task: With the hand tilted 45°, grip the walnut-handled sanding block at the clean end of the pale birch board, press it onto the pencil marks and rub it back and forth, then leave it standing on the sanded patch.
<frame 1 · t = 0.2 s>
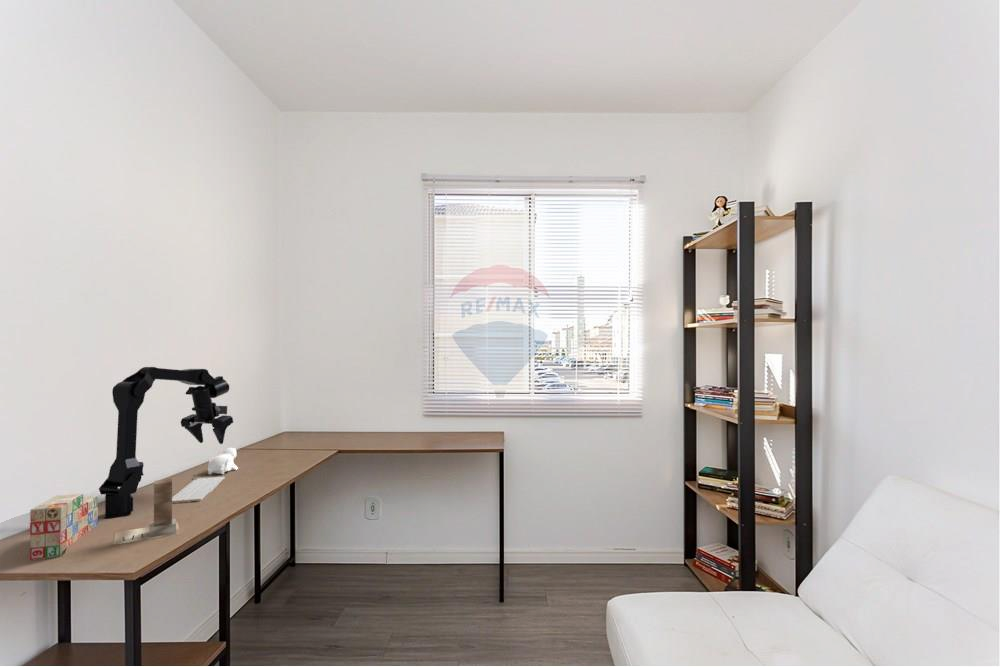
hand: (211, 443, 196), 15 cm above the table, tool pointing down, fingers open, 9 cm apart
sanding block: (162, 532, 143), point 1 cm above the table, touching board
white lumpy figurine: (224, 472, 218), on the table
baseboard molding: (195, 492, 189), on the table
stack of blocks: (66, 544, 139), on the table
board: (147, 537, 143), on the table
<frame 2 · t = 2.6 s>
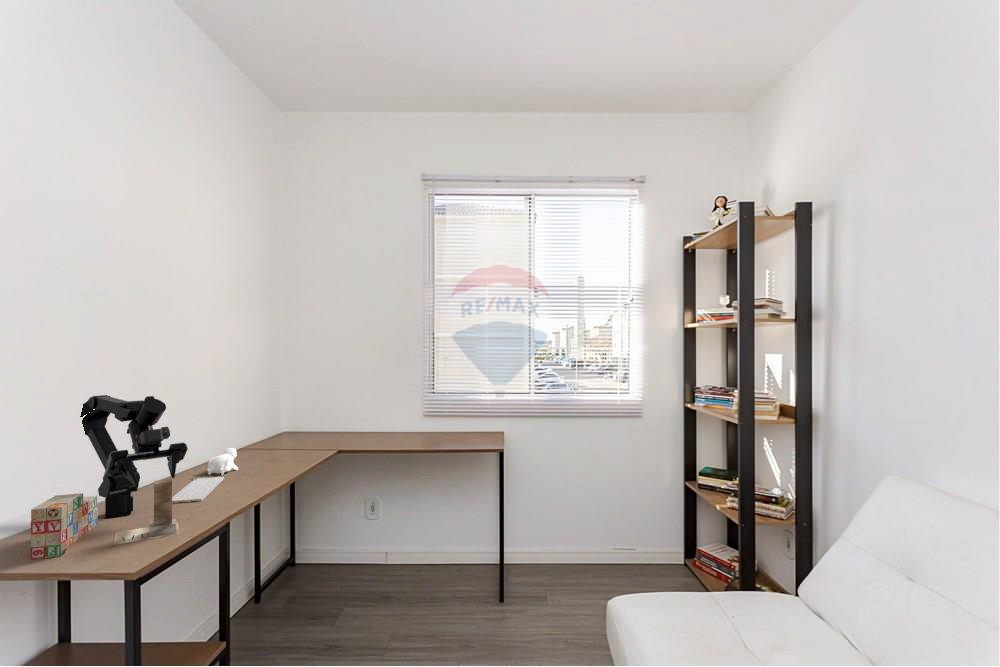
hand: (155, 480, 149), 13 cm above the table, tool tilted 45°, fingers open, 9 cm apart
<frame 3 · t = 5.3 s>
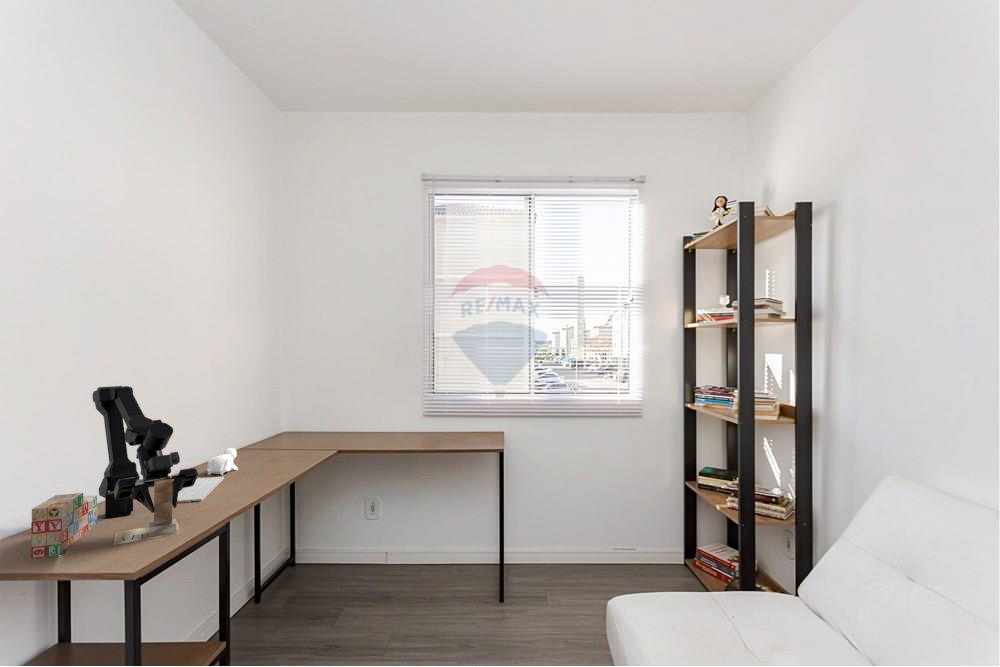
hand: (164, 509, 142), 8 cm above the table, tool tilted 45°, fingers closed on sanding block, 5 cm apart
sanding block: (162, 532, 143), point 1 cm above the table, touching board, gripper
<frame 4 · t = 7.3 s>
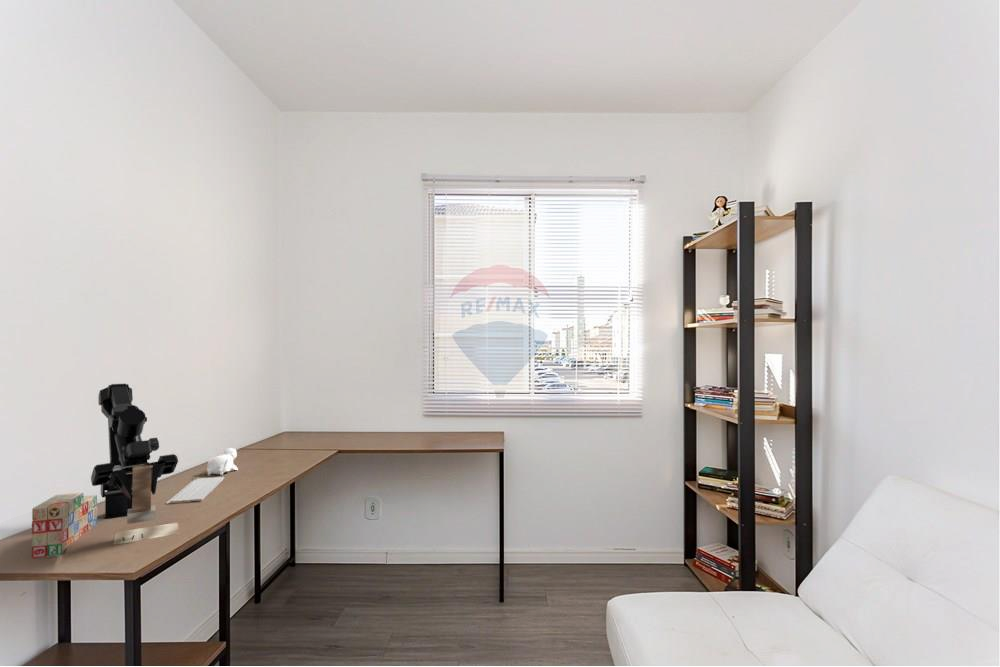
hand: (142, 495, 140), 12 cm above the table, tool tilted 45°, fingers closed on sanding block, 5 cm apart
sanding block: (141, 519, 140), point 6 cm above the table, touching gripper
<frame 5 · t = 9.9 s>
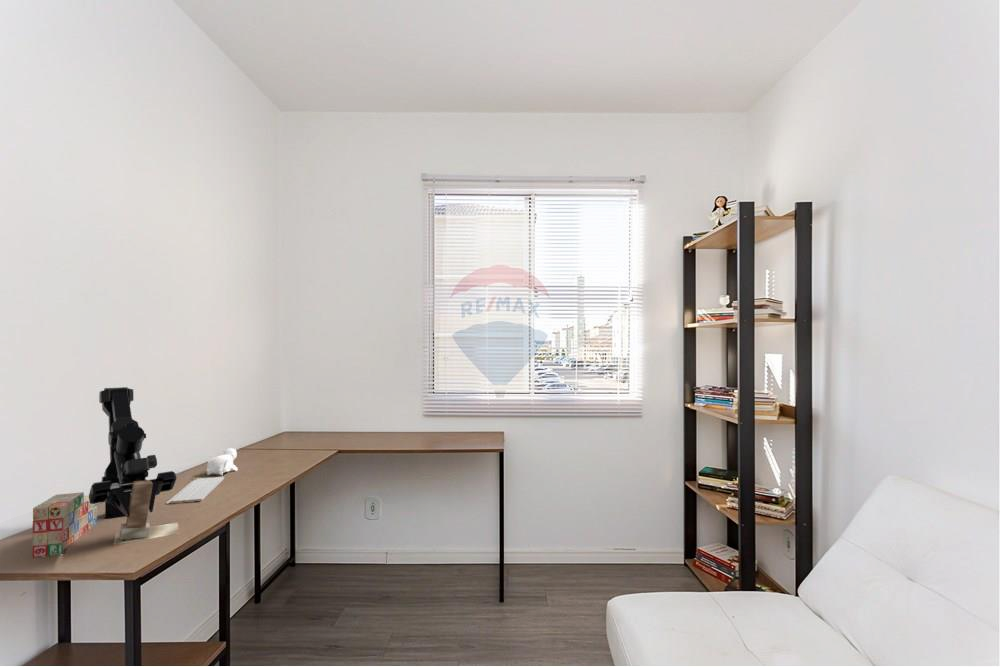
hand: (140, 513, 139), 7 cm above the table, tool tilted 45°, fingers closed on sanding block, 5 cm apart
sanding block: (134, 535, 140), point 2 cm above the table, tilted 8°, touching board, gripper
when the fingers open (7 cm above the table, at t = 11.2 s): sanding block stays where it is, resting on board.
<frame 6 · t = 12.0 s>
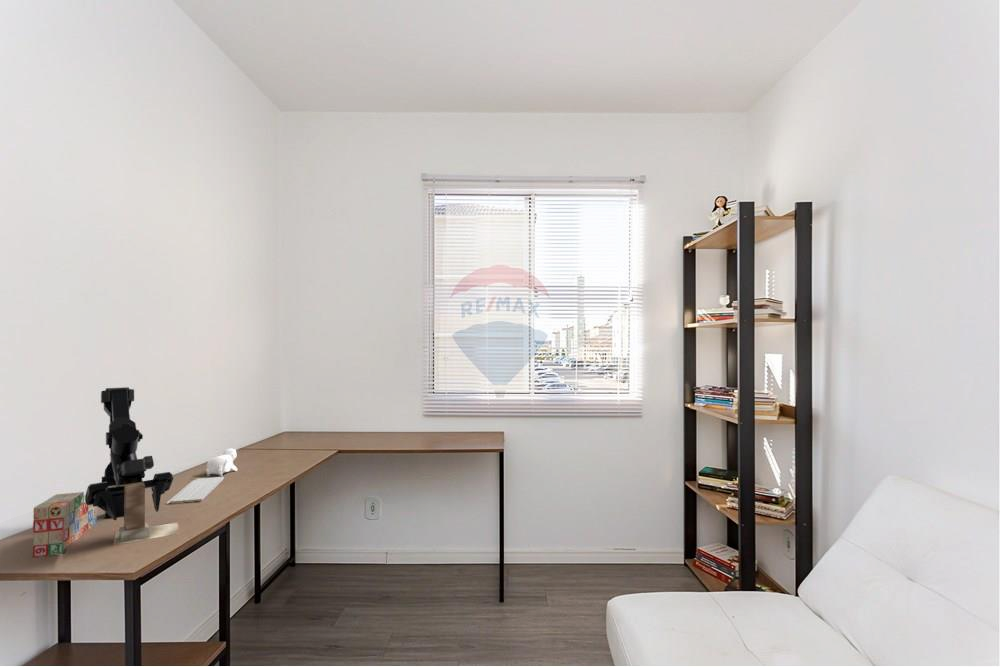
hand: (137, 514, 139), 7 cm above the table, tool tilted 45°, fingers open, 9 cm apart
sanding block: (134, 536, 140), point 1 cm above the table, touching board
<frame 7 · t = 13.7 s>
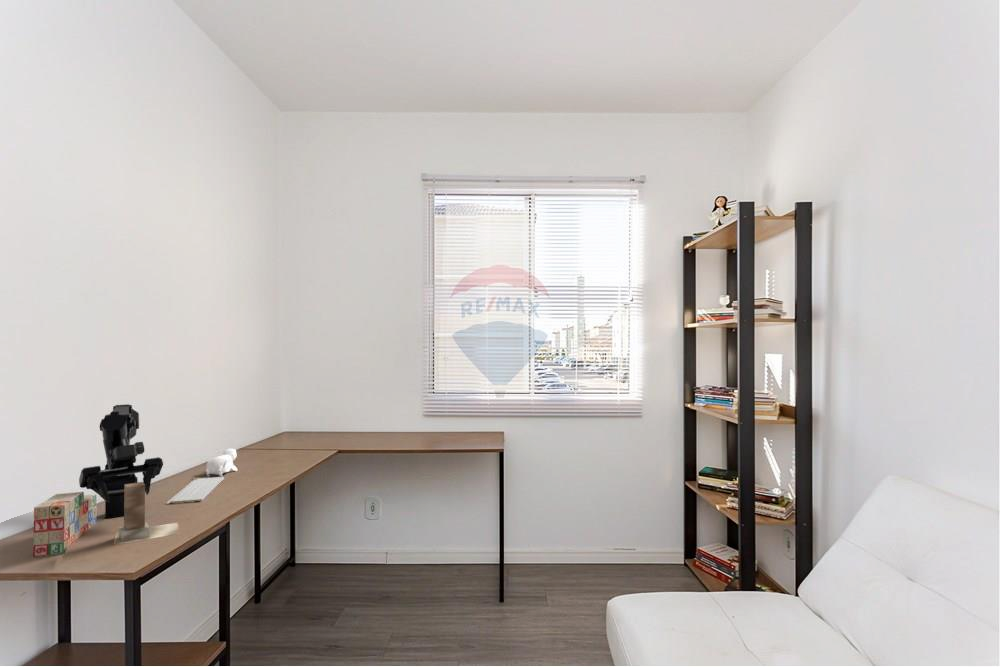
hand: (128, 497, 146), 10 cm above the table, tool tilted 45°, fingers open, 9 cm apart
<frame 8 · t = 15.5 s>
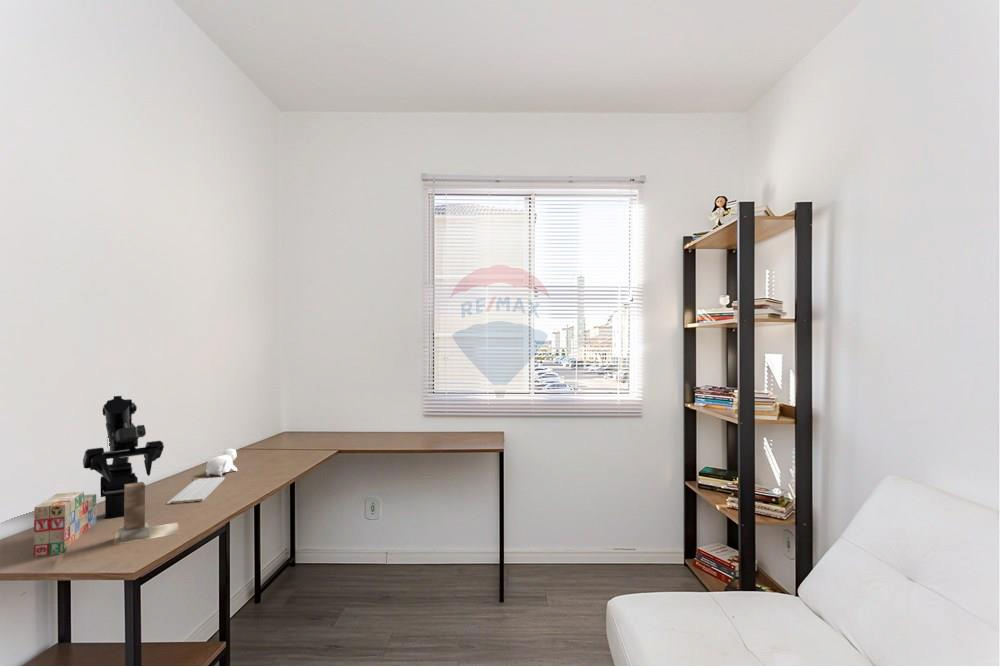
hand: (130, 477, 152), 14 cm above the table, tool tilted 45°, fingers open, 9 cm apart
at the end: sanding block 0.1 cm from the target spot on the board, point 1.2 cm above the board's base; sanding block tilted 0°; the gripper is holding nothing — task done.
